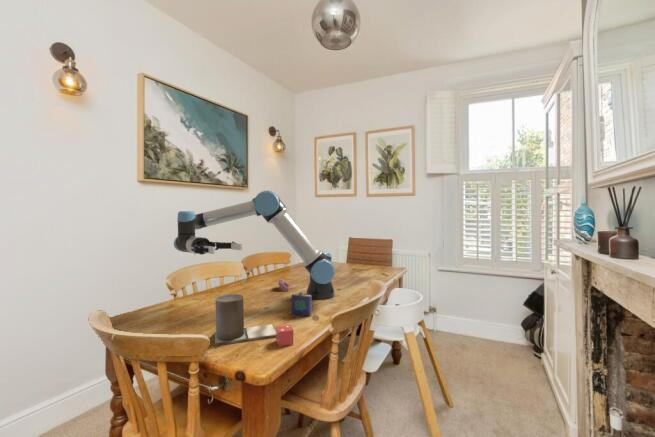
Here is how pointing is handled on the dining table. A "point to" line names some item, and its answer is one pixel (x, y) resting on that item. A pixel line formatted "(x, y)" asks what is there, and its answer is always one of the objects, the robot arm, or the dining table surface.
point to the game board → (250, 335)
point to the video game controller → (283, 285)
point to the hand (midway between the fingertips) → (228, 248)
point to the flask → (301, 304)
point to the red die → (284, 335)
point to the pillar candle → (229, 317)
